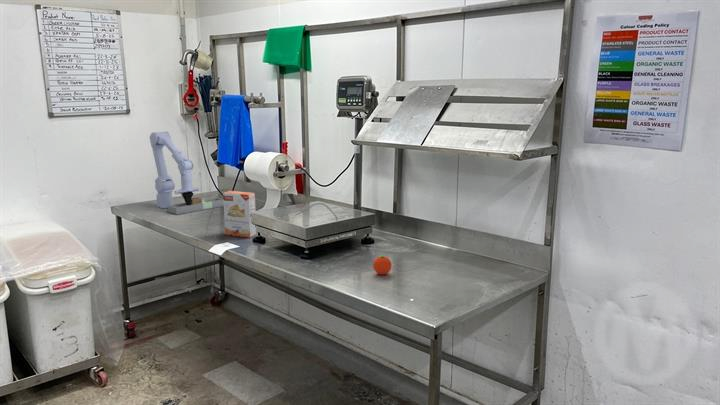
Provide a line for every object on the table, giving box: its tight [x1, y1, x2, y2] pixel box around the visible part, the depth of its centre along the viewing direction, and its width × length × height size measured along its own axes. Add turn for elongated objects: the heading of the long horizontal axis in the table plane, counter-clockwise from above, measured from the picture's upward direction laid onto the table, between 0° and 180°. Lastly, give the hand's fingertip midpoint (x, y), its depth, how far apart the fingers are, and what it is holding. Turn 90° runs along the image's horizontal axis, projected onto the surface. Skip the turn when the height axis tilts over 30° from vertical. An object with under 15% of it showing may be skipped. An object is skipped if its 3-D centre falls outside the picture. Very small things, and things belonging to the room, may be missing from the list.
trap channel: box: [166, 197, 224, 216], centre depth 304 cm, size 12×32×4 cm, turn 139°
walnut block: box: [190, 197, 203, 205], centre depth 302 cm, size 5×6×4 cm
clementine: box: [372, 255, 392, 276], centre depth 196 cm, size 8×7×7 cm
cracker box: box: [222, 190, 257, 239], centre depth 247 cm, size 14×6×21 cm, turn 70°
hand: (188, 205), depth 299 cm, fingers closed
